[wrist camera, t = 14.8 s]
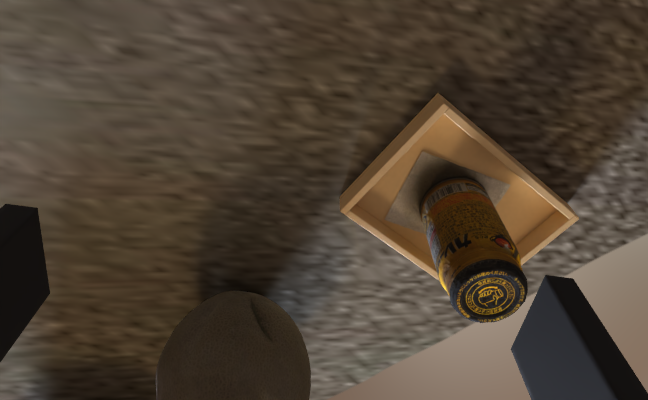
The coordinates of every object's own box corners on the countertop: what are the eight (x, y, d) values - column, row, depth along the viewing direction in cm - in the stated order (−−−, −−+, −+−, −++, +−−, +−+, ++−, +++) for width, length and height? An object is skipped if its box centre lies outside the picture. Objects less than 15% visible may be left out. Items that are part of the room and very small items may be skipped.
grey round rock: (149, 298, 51) (87, 431, 38) (268, 242, 48) (245, 368, 35) (228, 383, 57) (199, 523, 44) (340, 339, 54) (343, 477, 41)
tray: (339, 196, 45) (339, 211, 43) (437, 92, 40) (443, 102, 38) (466, 287, 50) (472, 304, 48) (567, 203, 45) (579, 218, 43)
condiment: (467, 248, 47) (505, 344, 37) (383, 218, 46) (399, 311, 35) (510, 183, 44) (566, 270, 33) (421, 149, 42) (451, 229, 32)
